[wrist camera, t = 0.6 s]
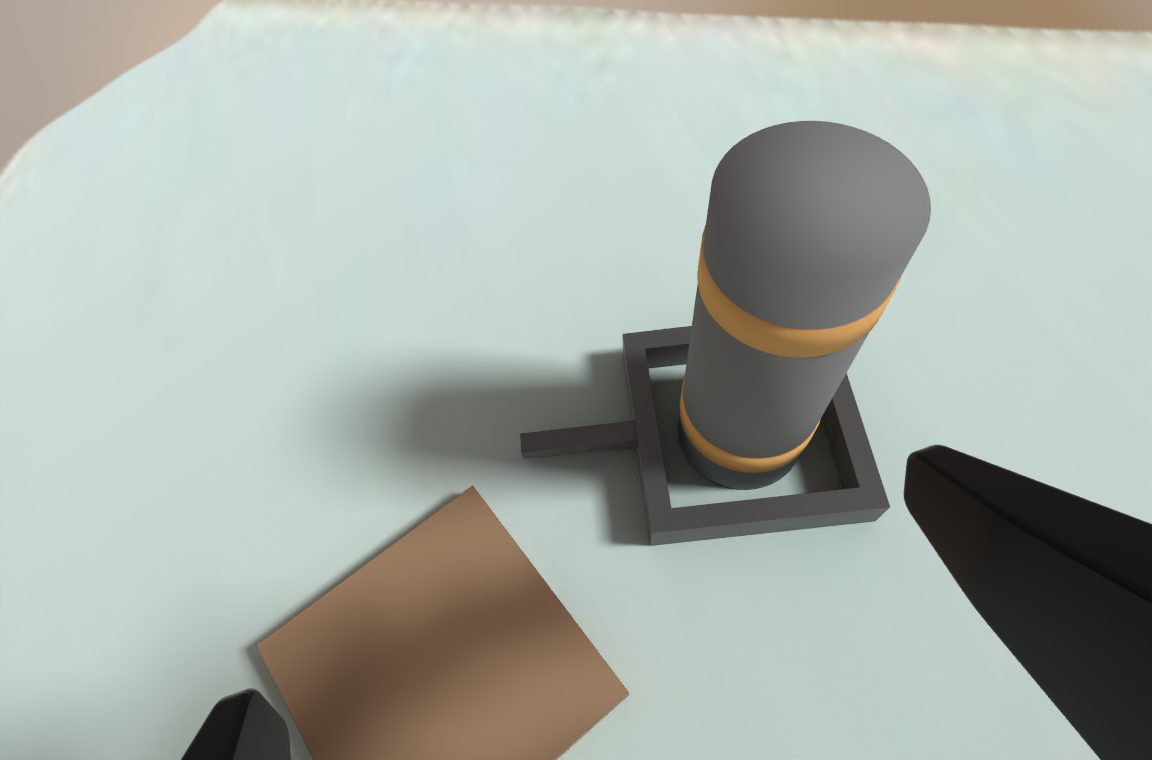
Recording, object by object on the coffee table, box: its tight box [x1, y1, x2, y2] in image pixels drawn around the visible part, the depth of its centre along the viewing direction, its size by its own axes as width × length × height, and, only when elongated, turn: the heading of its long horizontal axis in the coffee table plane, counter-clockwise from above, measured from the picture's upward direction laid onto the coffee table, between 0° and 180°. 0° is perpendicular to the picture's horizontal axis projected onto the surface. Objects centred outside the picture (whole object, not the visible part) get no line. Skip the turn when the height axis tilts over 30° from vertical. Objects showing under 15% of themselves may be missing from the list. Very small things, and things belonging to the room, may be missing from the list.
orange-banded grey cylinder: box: [678, 121, 931, 490], centre depth 21 cm, size 5×5×13 cm
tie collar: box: [520, 326, 890, 545], centre depth 26 cm, size 8×13×2 cm, turn 95°
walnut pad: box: [256, 486, 629, 760], centre depth 23 cm, size 9×9×1 cm
